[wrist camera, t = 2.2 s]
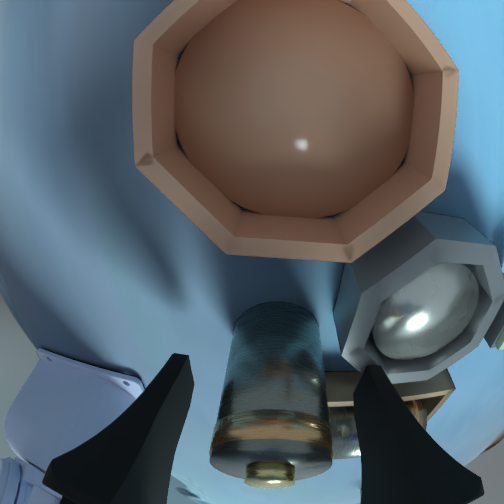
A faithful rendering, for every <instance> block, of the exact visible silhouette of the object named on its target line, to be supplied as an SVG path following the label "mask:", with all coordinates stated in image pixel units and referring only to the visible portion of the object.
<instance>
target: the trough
mask: <svg viewBox="0 0 504 504" xmlns="http://www.w3.org/2000/svg"><path fill="white" fill-rule="evenodd" d="M324 373H325V382H326V391H327V401H328V407H340V406H354V403H353V392H354V391H355V389H356V387H357V385H358V383H359V381H360V379H361V377H362V374H361V373H360V372H324ZM393 386H394V387H395V389H396V391H397V392H398V394H399V395H400V397H401V398H402V400H403V401H410V400H417V399H423V400H424V403H425V406H426V410H427V421H428V420H429V419H430V418H431V417H432V416H433V415H434V414H435V413H436V411H437V410H438V409H439V408H440V407H441V406H442V405H443V403H444V402H445V401H446V400H447V399H448V397H449V396H450V395H451V394H452V392H453V391H454V390H455V389H456V388H455V386H454V383H453V381H452V378H451V376H450V374H449V371H448V369H447V368H446V369H445V370H443V371H441V372H440V373H438V374H437V375H435V376H433V377H432V378H430V379H428V380H423V381H415V382H406V383H396V384H393Z"/></svg>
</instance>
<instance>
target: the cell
mask: <svg viewBox="0 0 504 504" xmlns="http://www.w3.org/2000/svg"><path fill="white" fill-rule="evenodd" d="M209 453H210V464H211V465H212V466H213V467H214V468H215V469H217V470H219V471H221V472H223V473H225V474H228V475H231V476H234V477H238V478H242V479H245V481H244V482H245V483H246V484H248V485H250V486H254V487H260V488H284V487H289V486H292V485H294V484H295V480H300V479H306V478H310V477H313V476H316V475H319V474H321V473H323V472H325V471H327V470H328V469H329V468H330V467H331V466H332V458H333V443H332V430H331V427H330V423H329V412H328V401H327V391H326V382H325V373H324V364H323V356H322V348H321V340H320V333H319V327H318V324H317V321H316V320H315V318H314V317H313V316H312V315H311V314H310V313H309V312H308V311H307V310H305V309H303V308H301V307H299V306H297V305H294V304H290V303H285V302H268V303H263V304H259V305H256V306H254V307H252V308H250V309H248V310H247V311H245V312H244V313H243V314H242V315H241V316H240V317H239V318H238V320H237V322H236V324H235V327H234V332H233V338H232V343H231V348H230V354H229V359H228V364H227V369H226V375H225V380H224V385H223V391H222V396H221V401H220V406H219V412H218V417H217V422H216V424H215V426H214V431H213V436H212V441H211V446H210V452H209Z"/></svg>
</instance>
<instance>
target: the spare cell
mask: <svg viewBox="0 0 504 504" xmlns="http://www.w3.org/2000/svg"><path fill="white" fill-rule="evenodd" d="M404 403H405V404H406V405H407V407H408V408H409V410H410V411H411V413H412V414H413V415H414V417H415V418H416V419H417V421H418V422H419V423H420V425H421V426H422V427H423V428H424V429H425V431H426V426H427V410H426V406H425V403H424V400H423V399H417V400H410V401H404ZM328 412H329V423H330V427H331V430H332V443H333V458H332V459H346V458H357V457H361V454H360V448H359V441H358V435H357V429H356V423H355V417H354V406H340V407H328Z"/></svg>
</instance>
